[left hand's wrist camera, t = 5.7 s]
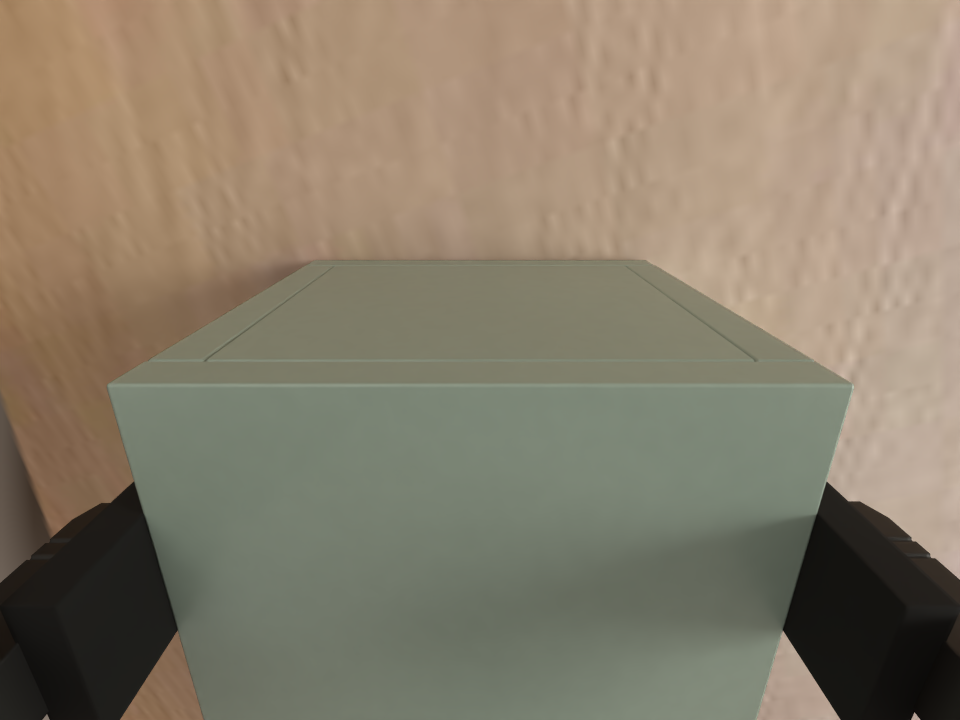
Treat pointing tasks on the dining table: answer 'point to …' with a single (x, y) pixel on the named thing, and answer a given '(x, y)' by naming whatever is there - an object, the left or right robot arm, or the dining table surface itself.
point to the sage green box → (480, 493)
